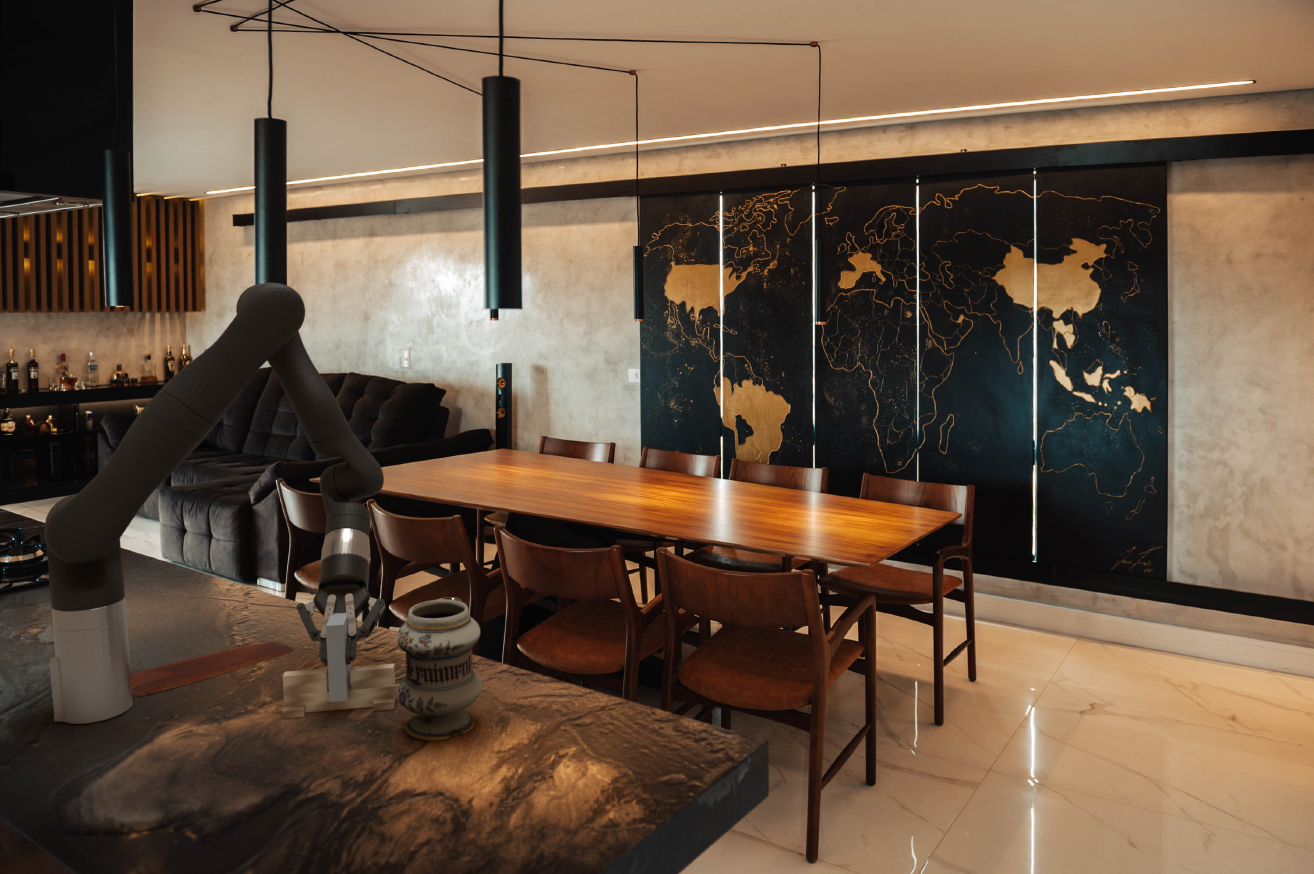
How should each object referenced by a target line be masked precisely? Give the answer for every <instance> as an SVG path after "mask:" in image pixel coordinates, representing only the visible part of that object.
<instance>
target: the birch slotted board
mask: <svg viewBox="0 0 1314 874" xmlns="http://www.w3.org/2000/svg"><path fill="white" fill-rule="evenodd" d="M395 675H396V674H395V663H385V664H371V665H369V664H367V665H358V666H357V665H356V666H351V681H352V685H348V699H347V701H337V702H330V701H329V680H328V668H318V669H316V668H315V669H304V670H293V671H292V670H288V671H285V672H284V673H283V675H282V686H283V687H282V690H283V691H282V692H283V706H284V707H283V708H282V710H281V717H282V718H281V719H283V720H284V719H296V718H304V717H305V716H306V715H305V714H306V713H315V712H326V711H336V710H350V709H360V708H372V711H373V712H378V711H389V710H394V709H395V705H396V704H395V703H396V700H397V688H396V676H395Z"/></svg>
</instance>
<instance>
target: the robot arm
mask: <svg viewBox="0 0 1314 874" xmlns="http://www.w3.org/2000/svg"><path fill="white" fill-rule="evenodd" d="M235 307H236V310H235V312H236V315H235V316H234V318H233V319H232V321H231V322H230V323H229V325H228V326H227V327H226V328H225V330H224V331H223V332H222V333H221V334H220V336H219V337H218V338H217V339H216V341H214V342H213V343H212V345H210V346H209V347H208V348H207V349H206V350H204V351H203V352H202V353H201V354H200V355H198V356H196V357H195V358H193V360H192V361H190V362H189V363H188V364H186V365H185V366H184V367H183V368H181V370H179V371H178V372H176V373H175V375H174V376H173V377H171V378H170V379H169V380H168V381H167V382H166V383H165V384H164V385H163V386H162V387H161V388H160V389H159V390H158V391H157V393H156V394H155V395H154V396H153V397H152V398H151V399H150V400H149V402H148V403H147V404H146V405H145V406H144V408H143V409H142V410H141V412H140V413H139V414H138V415H137V417H136V418H135V419H134V421H133V422H132V424H131V425H130V427H129V428H128V430H127V431H126V433H125V434H124V436H123V438H121V440H120V442H119V444H118V446H117V447H116V449H115V451H114V453H113V454H112V456H111V457H110V459H109V460H108V461H107V463H106V464H105V465H104V467H103V468H102V469H101V470H100V471H99V472H98V474H96V475H95V476H94V477H93V478H92V479H91V481H89V482H88V483H87V484H86V485H85V486H84V487H83V488H82V489H81V490H80V491H79V492H78V493H74V494H71V495H68V496H65V497H64V498H61V499H60V500H58V501H57V502H56V503H54V505H53V506H52V507H51V508H50V509H49V511H48V513H47V514H46V518H45V522H44V539H45V543H46V544H45V545H46V555H47V556H46V557H47V565H48V582H49V599H50V607H51V614H52V615H51V619H52V628H53V641H54V653H55V655H54V656H53V657H52V658H50V660H49V671H50V683H51V684H50V685H51V695H52V696H51V698H52V708H53V719H54V722H55V723H56V722H63V723H64V722H65V723H66V724H73V725H74V724H77V725H79V724H90V723H91V724H92V723H97V722H101V721H104V720H105V721H106V720H108V719H112V718H114V717H117V716H119V715H121V714H125V712H127V711H128V710H130V708H132V707H133V704H134V703H133V696H132V685H131V673H132V672H131V661H130V660H131V657H130V646H129V645H130V644H129V633H128V632H129V631H128V630H129V629H128V620H127V619H128V617H127V604H126V593H125V592H126V590H125V578H124V569H123V568H124V567H123V562H122V560H123V559H122V548H121V547H122V546H121V538H122V537H123V534H124V533H125V532H126V531H127V529H128V527H129V526H130V524H131V523H132V521H133V519H134V518H135V517H136V515H137V514H138V513H139V511H140V510H141V508H142V507H143V505H144V504H145V503H146V501H147V500H148V499H149V498H150V497H151V495H152V494H153V493H154V492H155V491H156V490H157V489H158V487H159V486H161V485H162V483H164V481H166V480H167V478H169V476H171V475H172V474H173V473H174V472H175V470H177V469H178V467H179V466H180V465H181V464H182V463H183V462H184V461H185V460H186V459H187V458H188V456H190V454H192V453H193V452H194V450H196V448H197V447H198V446H199V445H200V444H201V443H202V441H204V440H205V438H206V437H207V436H208V435H209V434H210V433H211V432H212V430H213V429H214V428H215V426H217V425H218V423H219V422H220V421H221V419H222V418H223V416H224V415H225V414H226V412H227V411H228V410H229V408H230V407H231V406H232V405H233V404H234V402H235V401H236V400H237V398H238V397H239V396H240V395H241V393H242V392H243V390H244V389H245V388H246V386H247V384H248V383H249V382H250V381H251V380H252V378H253V376H255V374H256V373H257V372H258V371H259V370H260V368H262V366H263V365H265V363H266V362H268V364H269V366H270V368H271V369H272V371H273V373H274V375H275V376H276V378H277V380H278V382H279V384H280V385H281V387H282V389H283V391H284V394H285V396H286V398H287V400H288V402H289V404H290V406H291V408H292V410H293V412H294V415H295V417H296V419H297V420H298V424H300V426H301V429H302V431H303V433H304V435H305V437H306V439H307V441H308V442H309V445H310V448H311V449H312V450H313V452H314V453H315V455H317V456H320V457H338V458H340V459H342V460H343V462H340V463H336V464H333V465H330V466H328V467H327V468H326V469H324V470H323V472H322V473H321V475H320V478H319V483H318V485H319V489H320V494H321V497H322V502H323V505H324V511H325V516H326V523H325V530H324V531H325V533H324V540H323V545H322V547H321V554H320V555H321V556H320V567H319V574H318V575H319V577H318V588H317V592H316V594H315V595H314V597H313V600H311V601H310V602H307V603H305V604H304V603H303V602H300V603H298V604H297V605H296V610H297V613H298V614H299V618H300V620H301V622H302V624H303V625H304V628H305V630H306V632H307V634H308V636H309V638H310V640H311V641H312V642H320V644H319V655H318V657H319V660H320V663H321V664H323V665H324V667H328V660H327V639H326V624H327V622H328V620H329V618H330V616H332V615H333V614H336V613H346V615H348V617H347V622H348V624H347V625H348V637H347V639H346V653H345V662H346V665H350V664H351V665H352V662H353V661H355V660H356V658H357V649H358V648H357V645H358V641H359V640H360V639H363V638H365V639H367V638H369V637H370V636H371V634H372V632H373V631H374V629H375V627H376V626H377V624H378V622H379V621H380V619H381V617H382V616H383V615H384V612H385V611H386V605H385V604H386V603H385V600H384V599H383V598H380V597H379V598H378V599H376V598H374V597H371V594H370V592H369V576H370V564H371V546H370V533H371V513H370V511H369V509H368V508H367V507H366V506H365V505H363V504H361V503H358V502H355V501H358V500H363V499H366V498H369V497H372V496H375V495H377V494H379V493H380V492H381V491H382V489H383V487H384V483H385V481H384V480H385V477H384V472H383V469H382V467H381V465H380V464H379V462H378V460H376V459H375V457H374V456H373V455H372V453H371V452H369V450H367V448H366V447H365V446H364V445H363V444H362V442H361V441H360V440H359V438H358V437H357V436H356V435H355V434H354V432H353V430H352V429H351V427H350V425H349V422H348V420H347V418H346V415H345V414H344V412H343V410H342V408H341V406H340V404H339V402H338V399H337V398H336V396H335V395H334V394H333V392H332V390H331V389H330V387H329V386H328V384H327V382H326V381H325V380H324V378H323V376H321V374H320V372H319V370H317V368H316V366H315V364H314V362H313V361H312V359H311V357H310V356H309V355H310V354H308V351H307V349H306V347H305V344H304V343H303V340H302V337H301V334H300V329H301V328H302V327H303V324H304V322H305V317H306V308H305V302H304V299H303V298H302V296H301V295H300V294H299V292H298V291H297V290H296V289H294V288H293V287H291V286H289V285H287V284H283V283H280V282H279V283H278V282H263V283H258V284H253V285H251V286H249V287H247V288H246V289H244V290H243V291H242V293H241V294H240V295H239V298H238V299H237V303H236V305H235ZM367 607H368V611H369V612H368V614H367V616H366V617H365V619H364V621H363V622H362V624H361V625H360V626H358V618H359V616H360V615H361V614H362V612H364V610H366V608H367ZM315 609H317V610H318V612H319V613H320V614H321V615H322V617H323V619H322V626H321V630H320V629H317V627H316V626H315V623H314V621H313V620H312V617H314V615H315Z"/></svg>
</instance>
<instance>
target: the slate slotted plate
mask: <svg viewBox="0 0 1314 874" xmlns="http://www.w3.org/2000/svg"><path fill="white" fill-rule="evenodd" d="M347 617H348V615H346V613H336V614H333V615H332V616H330V618H329V620H328V622H327V624H326V639H327V660H328V666H327V669H328V680H329V701H330V702H337V701H347V699H348V685H352V680H351V670H352V663H351V664H350V665H346V662H345V653H346V639H347V637H348V625H347V624H348V622H347Z"/></svg>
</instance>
